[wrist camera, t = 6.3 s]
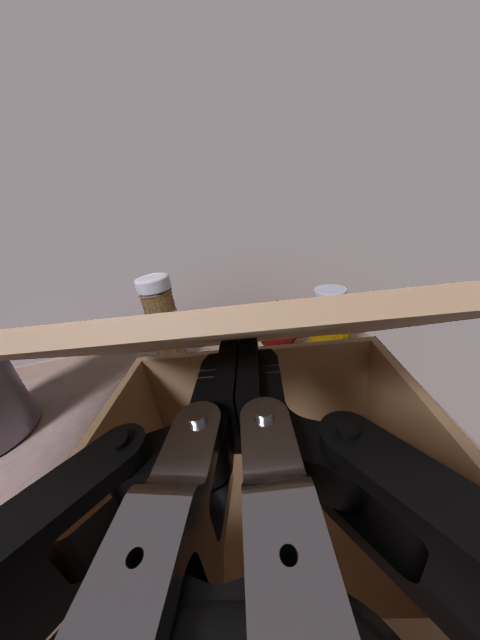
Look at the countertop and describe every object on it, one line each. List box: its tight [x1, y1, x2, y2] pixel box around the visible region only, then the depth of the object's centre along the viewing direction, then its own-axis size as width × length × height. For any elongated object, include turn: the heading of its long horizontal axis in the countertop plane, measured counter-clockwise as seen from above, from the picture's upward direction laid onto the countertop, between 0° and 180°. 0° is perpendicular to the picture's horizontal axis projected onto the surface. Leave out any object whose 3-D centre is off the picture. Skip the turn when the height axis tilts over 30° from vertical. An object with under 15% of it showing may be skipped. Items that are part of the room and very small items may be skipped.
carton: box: [46, 336, 480, 640], centre depth 17 cm, size 16×20×10 cm
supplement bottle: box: [309, 284, 351, 342], centre depth 34 cm, size 5×5×10 cm
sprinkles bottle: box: [134, 273, 187, 356], centre depth 37 cm, size 5×5×13 cm
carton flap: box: [0, 280, 480, 361], centre depth 13 cm, size 16×19×1 cm
